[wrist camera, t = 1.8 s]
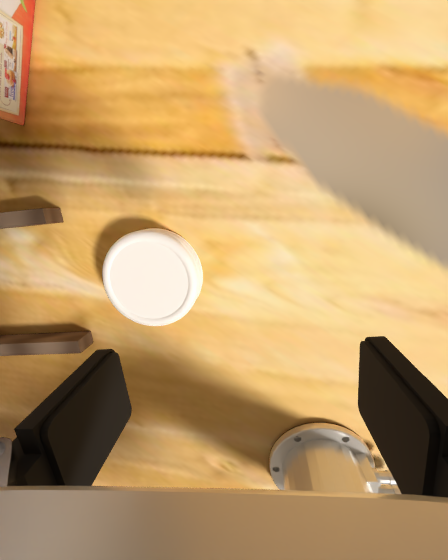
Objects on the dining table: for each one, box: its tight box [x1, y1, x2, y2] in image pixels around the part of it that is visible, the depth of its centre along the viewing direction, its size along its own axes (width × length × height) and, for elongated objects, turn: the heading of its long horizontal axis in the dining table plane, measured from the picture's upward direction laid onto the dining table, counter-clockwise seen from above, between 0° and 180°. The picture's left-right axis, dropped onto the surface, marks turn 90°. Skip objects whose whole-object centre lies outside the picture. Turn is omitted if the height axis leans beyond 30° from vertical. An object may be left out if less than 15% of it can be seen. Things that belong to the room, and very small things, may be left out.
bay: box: [0, 208, 93, 356], centre depth 30 cm, size 15×16×2 cm
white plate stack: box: [102, 228, 203, 326], centre depth 28 cm, size 10×10×4 cm
